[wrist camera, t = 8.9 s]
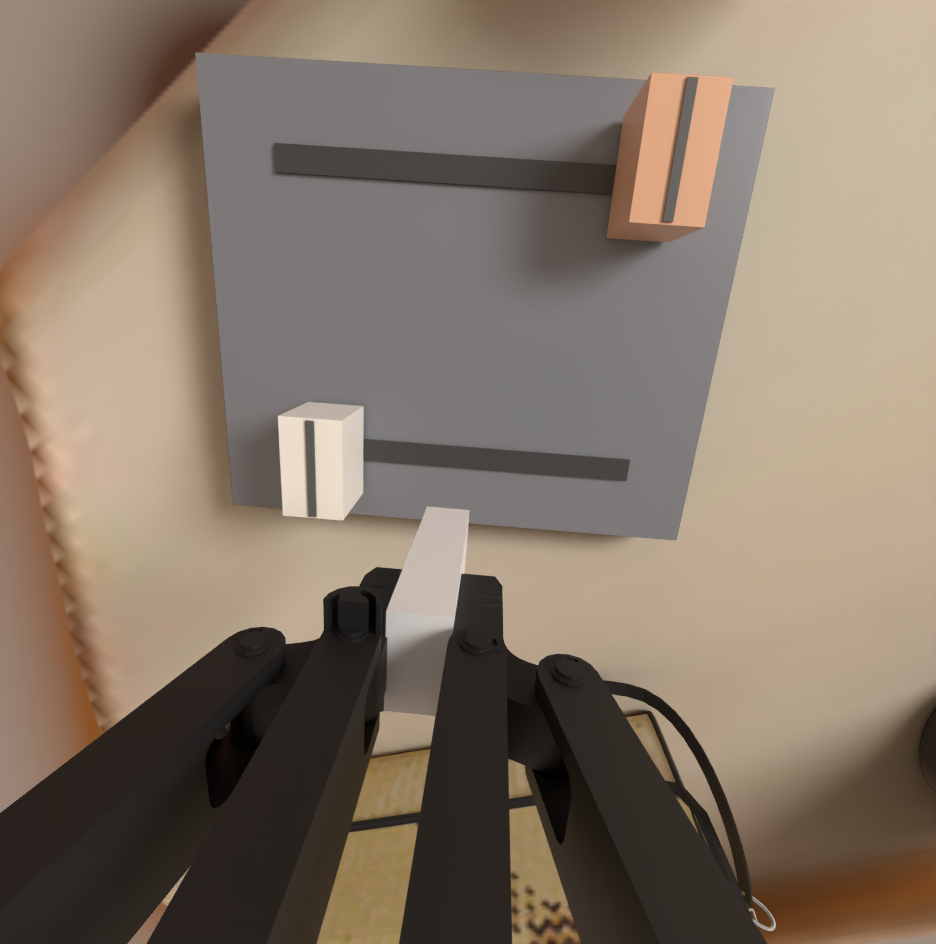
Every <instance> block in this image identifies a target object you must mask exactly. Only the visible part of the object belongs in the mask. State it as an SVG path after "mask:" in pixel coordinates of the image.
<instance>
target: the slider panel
mask: <svg viewBox="0 0 936 944" xmlns="http://www.w3.org/2000/svg"><path fill="white" fill-rule="evenodd" d="M195 54H196V66H197V78H198V90H199V102H200V114H201V126H202V138H203V150H204V162H205V174H206V186H207V198H208V210H209V222H210V234H211V246H212V258H213V269H214V281H215V293H216V305H217V317H218V329H219V341H220V353H221V365H222V377H223V389H224V401H225V413H226V425H227V437H228V449H229V461H230V473H231V485H232V497H233V505H246V506H258V507H270V508H282V489H281V469H280V449H279V430H278V416H279V415H281V414H283V413H285V412H287V411H290V410H292V409H294V408H296V407H298V406H301V405H303V404H305V403H307V402H317V403H330V404H343V405H356V406H364V432H363V494H362V495H361V497H360V498H359V499H358V501H357V502H356V504H355V505H354V506H353V508H352V509H351V510H350V512H349V513H348V514H357V515H369V516H382V517H394V518H406V519H419V520H422V518H423V516H424V513H425V510H426V508H427V506H428V507H439V508H451V509H463V510H469V523H468V524H481V525H493V526H505V527H518V528H530V529H543V530H555V531H567V532H580V533H592V534H604V535H617V536H629V537H642V538H654V539H666V540H677V535H678V531H679V526H680V521H681V517H682V512H683V508H684V503H685V498H686V494H687V489H688V485H689V480H690V476H691V471H692V466H693V462H694V457H695V453H696V448H697V443H698V439H699V434H700V430H701V425H702V421H703V416H704V411H705V407H706V402H707V398H708V393H709V388H710V384H711V379H712V375H713V370H714V365H715V361H716V356H717V352H718V347H719V343H720V338H721V333H722V329H723V324H724V320H725V315H726V310H727V306H728V301H729V297H730V292H731V288H732V283H733V278H734V274H735V269H736V265H737V260H738V255H739V251H740V246H741V242H742V237H743V233H744V228H745V223H746V219H747V214H748V210H749V205H750V200H751V196H752V191H753V187H754V182H755V177H756V173H757V168H758V164H759V159H760V155H761V150H762V145H763V141H764V136H765V132H766V127H767V122H768V118H769V113H770V109H771V104H772V100H773V95H774V90H775V88H768V87H751V86H735V85H732V89H731V94H730V99H729V104H728V109H727V115H726V120H725V125H724V130H723V135H722V140H721V145H720V150H719V156H718V161H717V166H716V171H715V176H714V181H713V186H712V191H711V196H710V202H709V207H708V212H707V217H706V222H705V227H704V228H702V229H699V230H697V231H695V232H692V233H690V234H688V235H685V236H683V237H681V238H678V239H676V240H674V241H671V242H655V241H641V240H626V239H611V238H606V237H607V230H608V223H609V215H610V208H611V201H612V194H613V187H614V180H615V173H616V166H617V159H618V152H619V144H620V137H621V130H622V123H623V116H624V114H625V113H626V111H627V110H628V108H629V107H630V105H631V104H632V102H633V101H634V99H635V98H636V96H637V94H638V93H639V91H640V90H641V88H642V87H643V85H644V84H645V82H646V81H647V80H636V79H620V78H604V77H587V76H571V75H555V74H538V73H522V72H505V71H489V70H473V69H456V68H440V67H423V66H407V65H391V64H374V63H358V62H342V61H325V60H309V59H292V58H276V57H260V56H243V55H227V54H210V53H195Z"/></svg>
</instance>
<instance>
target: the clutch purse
mask: <svg viewBox="0 0 936 944" xmlns="http://www.w3.org/2000/svg"><path fill="white" fill-rule="evenodd" d="M603 682H604V683H605V685H606V687H607V688H608V690H609V691H610V693H611V694H614V695H620V696H627V697H630V698H634V699H637V700H640V701H643V702H645V703H647V704H648V705H650V706H652V707H653V708H655V709H656V710H658V711H659V712H660V713H661V714H662V715H663V716H665V717H666V718H667V719H668V720H669V721H670V722H671V723H672V724H673V726H674V727H675V728H676V729H677V731H678V732H679V733H680V734H681V735H682V737H683V738H684V740H685V741H686V743H687V744H688V746H689V748H690V749H691V751H692V752H693V754H694V756H695V757H696V759H697V761H698V763H699V765H700V767H701V769H702V771H703V773H704V775H705V777H706V779H707V781H708V784H709V786H710V789H711V791H712V793H713V796H714V798H715V800H716V803H717V806H718V809H719V812H720V814H721V817H722V820H723V823H724V826H725V829H726V833H727V836H728V840H729V843H730V846H731V850H732V854H733V859H734V863H735V867H736V873H737V879H738V883H737V881H736V878H735V876H734V874H733V871H732V869H731V867H730V864H729V862H728V860H727V857H726V855H725V853H724V850H723V848H722V846H721V844H720V841H719V839H718V837H717V834H716V832H715V830H714V828H713V825H712V823H711V821H710V818H709V816H708V814H707V812H706V811H705V810H704V809H703V808H702V807H701V806H700V805H699V803H698V802H697V801H696V800H695V799H694V798H693V797H692V796H691V794H690V793H689V792H688V791H687V790H686V789H685V787H684V784H683V782H682V779H681V777H680V775H679V772H678V770H677V767H676V765H675V762H674V760H673V758H672V755H671V753H670V750H669V748H668V746H667V743H666V741H665V738H664V736H663V734H662V732H661V729H660V727H659V725H658V723H657V720H656V718H655V717H654V715H653V713H652V712H650V711H647V712H646V714H642V715H636V716H630V717H626V718H627V720H628V722H629V723H630V725H631V726H632V728H633V730H634V731H635V733H636V734H637V736H638V738H639V739H640V741H641V742H642V744H643V746H644V747H645V749H646V750H647V752H648V754H649V755H650V757H651V758H652V760H653V762H654V763H655V765H656V766H657V768H658V770H659V771H660V773H661V774H662V776H663V778H664V779H665V781H666V782H667V784H668V786H669V787H670V789H671V790H672V792H673V794H674V795H675V797H676V798H677V800H678V802H679V803H680V805H681V806H682V808H683V810H684V811H685V813H686V814H687V816H688V818H689V819H690V821H691V822H692V824H693V826H694V827H695V829H696V830H697V832H698V834H699V835H700V837H701V838H702V840H703V842H704V843H705V845H706V846H707V848H708V850H709V851H710V853H711V854H712V856H713V858H714V859H715V861H716V862H717V864H718V866H719V867H720V869H721V870H722V872H723V874H724V875H725V877H726V878H727V880H728V882H729V883H730V885H731V886H732V888H733V890H734V891H735V893H736V894H737V896H738V898H739V899H740V901H741V902H742V904H743V906H744V907H745V909H746V910H747V912H748V914H749V915H750V917H751V914H750V912H749V911H752V914H753V917H754V919H753V918H752V917H751V918H752V920H753V922H754V923H755V925H758V926H759V927H761V928H762V929H765V930H767V931H773V930H775V928H776V923H775V920H774V918H773V916H772V914H771V913H770V912H769V910H768V909H767V908H766V907H765V906H764V905H763V904H762V903H761V902H760V901H758V900H757V899H756V898H754V897H753V896H752V889H751V883H750V877H749V871H748V867H747V863H746V859H745V855H744V851H743V847H742V843H741V840H740V837H739V834H738V830H737V827H736V824H735V821H734V818H733V815H732V812H731V810H730V807H729V804H728V802H727V799H726V796H725V794H724V792H723V789H722V787H721V785H720V782H719V780H718V778H717V776H716V773H715V771H714V769H713V767H712V765H711V763H710V762H709V760H708V758H707V756H706V754H705V752H704V750H703V748H702V747H701V745H700V744H699V742H698V741H697V739H696V738H695V736H694V734H693V733H692V731H691V730H690V728H689V727H688V726H687V725H686V724H685V722H684V721H683V720H682V719H681V717H680V716H679V715H678V714H677V713H676V711H674V710H673V709H672V708H671V707H670V706H669V705H668V704H667V703H665V702H664V701H663V700H662V699H661V698H659V697H658V696H656V695H654V694H652V693H651V692H649V691H647V690H646V689H643V688H640V687H637V686H633V685H630V684H626V683H619V682H612V681H604V680H603ZM381 711H384V698H383V701H382V704H381V707H380V712H381ZM429 755H430V749H426V750H420V751H414V752H407V753H401V754H395V755H389V756H383V757H377V758H370V762H369V765H368V768H367V772H366V775H365V779H364V782H363V786H362V789H361V792H360V796H359V799H358V803H357V806H356V810H355V813H354V817H353V820H352V823H351V827H350V830H349V834H348V837H347V841H346V844H345V847H344V851H343V854H342V858H341V861H340V865H339V868H338V872H337V875H336V878H335V882H334V885H333V889H332V892H331V896H330V899H329V902H328V906H327V909H326V913H325V916H324V920H323V923H322V927H321V930H320V933H319V937H318V940H317V944H399V940H400V934H401V928H402V922H403V916H404V909H405V903H406V897H407V891H408V885H409V878H410V872H411V866H412V860H413V854H414V848H415V841H416V835H417V829H418V823H419V817H420V811H421V804H422V798H423V792H424V786H425V780H426V774H427V767H428V761H429ZM508 770H509V816H510V862H511V908H512V944H581V942H580V939H579V936H578V933H577V930H576V927H575V924H574V921H573V918H572V915H571V912H570V909H569V906H568V902H567V899H566V896H565V893H564V890H563V887H562V884H561V881H560V878H559V875H558V872H557V869H556V866H555V863H554V860H553V857H552V854H551V851H550V848H549V844H548V841H547V838H546V835H545V832H544V829H543V826H542V823H541V820H540V817H539V814H538V811H537V808H536V805H535V802H534V799H533V796H532V793H531V789H530V786H529V783H528V780H527V777H526V774H525V765H522V764H520V763H517V762H515V761H513V760H510V759H508ZM744 899H745V900H744ZM752 900H753V901H754V902H756V903H757V904H758V905H759V906H760V907H761V908H763V910H764V911H765V912H766V913H767V914H768V916H769V917H770V919H771V922H772V925H771V926H770V927H766V926H764V925H762V924H760V923H758V922H757V918H756V915H755V912H754V910H753V909H752V908H753V905H752ZM745 901H746V902H747V903H748V905H749V906H750V909H748V907H747V905H746V902H745Z"/></svg>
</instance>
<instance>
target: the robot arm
mask: <svg viewBox="0 0 936 944" xmlns="http://www.w3.org/2000/svg"><path fill="white" fill-rule="evenodd" d="M468 523H469V510H463V509H451V508H439V507H428V506H427V508H426V510H425V513H424V516H423V518H422V521H421V523H420V526H419V528H418V531H417V533H416V536H415V539H414V541H413V544H412V546H411V549H410V551H409V554H408V556H407V559H406V562H405V564H404V567H403V569H392V568H381V567H376V568H375V569H373V570H372V571H370V572H369V573H367V574H366V575H365V576H364V578H363V580H362V582H361V584H360V586H355V587H345V588H340V589H337V590H335V591H333V592H331V593H329V594H328V595H327V596H326V597H325V598H324V599H323V605H324V631H323V633H322V635H321V637H320V638H319V639H316V640H313V641H308V642H302V643H293V644H286V641H285V637H284V635H283V634H282V632H280V631H278V630H276V629H274V628H267V627H257V628H256V627H255V628H249V629H246V630H243V631H240V632H237V633H236V634H234V635H232V636H230V637H229V638H227V639H226V640H225V641H223V642H222V643H221V644H219V645H218V646H217V647H216V648H214V649H213V650H212V651H210V652H209V653H208V654H206V655H205V656H204V657H203V658H201V659H200V660H199V661H197V662H196V663H195V664H193V665H192V666H191V667H190V668H188V669H187V670H186V671H184V672H183V673H182V674H180V675H179V676H178V677H177V678H175V679H174V680H173V681H171V682H170V683H169V684H167V685H166V686H165V687H164V688H162V689H161V690H160V691H158V692H157V693H156V694H154V695H153V696H152V697H151V698H149V699H148V700H147V701H145V702H144V703H143V704H141V705H140V706H139V707H138V708H136V709H135V710H134V711H132V712H131V713H130V714H128V715H127V716H126V717H125V718H123V719H122V720H121V721H119V722H118V723H117V724H115V725H114V726H113V727H111V728H110V729H109V730H108V731H106V732H105V733H104V734H102V735H101V736H100V737H99V738H97V739H96V740H95V741H93V742H92V743H91V744H89V745H88V746H87V747H86V748H84V749H83V750H82V751H80V752H79V753H78V754H76V755H75V756H74V757H73V758H71V759H70V760H69V761H68V762H66V763H65V764H63V765H62V766H61V767H59V768H58V769H57V770H56V771H54V772H53V773H52V774H50V775H49V776H48V777H47V778H45V779H44V780H43V781H41V782H40V783H39V784H37V785H36V786H35V787H33V788H32V789H31V790H30V791H28V792H27V793H26V794H25V795H23V796H22V797H21V798H19V799H18V800H17V801H15V802H14V803H13V804H11V805H10V806H9V807H7V808H6V809H5V810H4V811H2V812H1V813H0V944H127V943H128V942H129V941H130V940H131V938H132V937H133V936H134V935H135V934H136V932H137V931H138V930H139V929H140V927H141V926H142V925H143V924H144V922H145V921H146V920H147V919H148V918H149V916H150V915H151V914H152V913H153V911H154V910H155V909H156V908H157V906H158V905H159V904H160V903H161V902H162V900H163V899H164V898H165V897H166V895H167V894H168V893H169V892H170V890H171V889H172V888H173V887H174V885H175V884H176V883H177V882H178V881H179V879H180V878H181V877H182V876H183V874H184V873H185V872H186V871H187V869H188V868H189V867H190V868H189V870H188V872H187V873H186V875H185V877H184V879H183V880H182V882H181V884H180V886H179V887H178V889H177V891H176V893H175V895H174V896H173V898H172V900H171V902H170V903H169V905H168V907H167V909H166V910H165V912H164V914H163V916H162V917H161V919H160V921H159V923H158V925H157V927H156V928H155V930H154V932H153V933H152V935H151V937H150V939H149V940H148V942H147V944H317V940H318V937H319V933H320V930H321V927H322V923H323V920H324V916H325V913H326V909H327V906H328V902H329V899H330V896H331V892H332V889H333V885H334V882H335V878H336V875H337V872H338V868H339V865H340V861H341V858H342V854H343V851H344V847H345V844H346V841H347V837H348V834H349V830H350V827H351V823H352V820H353V817H354V813H355V810H356V806H357V803H358V799H359V796H360V792H361V789H362V786H363V782H364V779H365V775H366V772H367V768H368V765H369V762H370V758H371V755H372V751H373V748H374V744H375V741H376V737H377V734H378V731H379V719H380V707H381V704H382V701H383V698H384V711H393V712H403V713H413V714H423V715H432V716H436V718H435V724H434V730H433V736H432V743H431V749H430V755H429V761H428V767H427V774H426V780H425V786H424V792H423V798H422V804H421V811H420V817H419V823H418V829H417V835H416V841H415V848H414V854H413V860H412V866H411V872H410V878H409V885H408V891H407V897H406V903H405V909H404V916H403V922H402V928H401V934H400V940H399V944H512V908H511V862H510V816H509V770H508V759H510V760H513V761H515V762H517V763H520V764H522V765H525V774H526V777H527V780H528V783H529V786H530V789H531V793H532V796H533V799H534V802H535V805H536V808H537V811H538V814H539V817H540V820H541V823H542V826H543V829H544V832H545V835H546V838H547V841H548V844H549V848H550V851H551V854H552V857H553V860H554V863H555V866H556V869H557V872H558V875H559V878H560V881H561V884H562V887H563V890H564V893H565V896H566V899H567V902H568V906H569V909H570V912H571V915H572V918H573V921H574V924H575V927H576V930H577V933H578V936H579V939H580V942H581V944H767V942H766V941H765V939H764V938H763V936H762V934H761V933H760V931H759V930H758V928H757V926H756V925H755V923H754V922H753V920H752V918H751V917H750V915H749V914H748V912H747V910H746V909H745V907H744V906H743V904H742V902H741V901H740V899H739V898H738V896H737V894H736V893H735V891H734V890H733V888H732V886H731V885H730V883H729V882H728V880H727V878H726V877H725V875H724V874H723V872H722V870H721V869H720V867H719V866H718V864H717V862H716V861H715V859H714V858H713V856H712V854H711V853H710V851H709V850H708V848H707V846H706V845H705V843H704V842H703V840H702V838H701V837H700V835H699V834H698V832H697V830H696V829H695V827H694V826H693V824H692V822H691V821H690V819H689V818H688V816H687V814H686V813H685V811H684V810H683V808H682V806H681V805H680V803H679V802H678V800H677V798H676V797H675V795H674V794H673V792H672V790H671V789H670V787H669V786H668V784H667V782H666V781H665V779H664V778H663V776H662V774H661V773H660V771H659V770H658V768H657V766H656V765H655V763H654V762H653V760H652V758H651V757H650V755H649V754H648V752H647V750H646V749H645V747H644V746H643V744H642V742H641V741H640V739H639V738H638V736H637V734H636V733H635V731H634V730H633V728H632V726H631V725H630V723H629V722H628V720H627V718H626V717H625V715H624V714H623V712H622V710H621V709H620V707H619V706H618V704H617V702H616V701H615V699H614V698H613V696H612V695H611V693H610V691H609V690H608V688H607V687H606V685H605V683H604V682H603V680H602V679H601V677H600V675H599V674H598V672H597V671H596V670H595V669H594V668H593V667H592V666H591V664H589V663H587V662H586V661H584V660H582V659H581V658H578V657H575V656H572V655H567V654H554V655H549V656H547V657H545V658H544V659H542V660H541V661H540V663H539V665H535V664H532V663H529V662H526V661H524V660H522V659H519V658H518V657H516V656H515V655H513V654H512V653H511V652H510V651H509V650H508V649H507V647H506V646H505V643H504V640H503V607H502V606H503V603H502V585H501V584H500V583H499V581H498V580H497V579H496V577H494V576H483V575H472V574H465V563H466V550H467V537H468ZM920 760H921V766H922V770H923V773H924V775H925V777H926V779H927V781H928V782H929V784H930V785H931V786H932V788H933V789H934V790H935V791H936V710H935V712H934V713H933V715H932V717H931V718H930V720H929V722H928V724H927V726H926V728H925V731H924V734H923V737H922V741H921V747H920Z"/></svg>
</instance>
